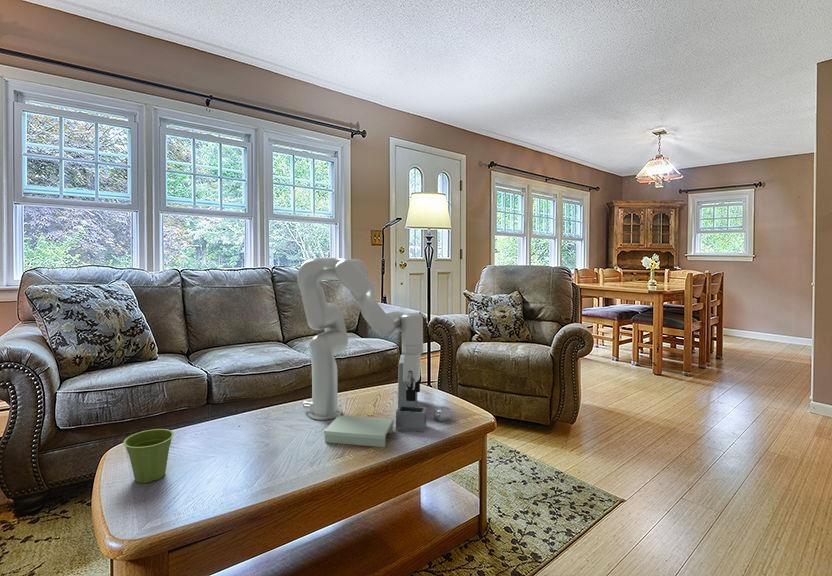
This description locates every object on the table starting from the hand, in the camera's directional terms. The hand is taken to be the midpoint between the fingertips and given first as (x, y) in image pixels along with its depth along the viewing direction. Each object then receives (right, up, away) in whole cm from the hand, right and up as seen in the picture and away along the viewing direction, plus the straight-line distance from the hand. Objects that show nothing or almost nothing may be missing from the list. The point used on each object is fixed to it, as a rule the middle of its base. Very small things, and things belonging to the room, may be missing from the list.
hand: (413, 396), depth 153 cm
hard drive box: (-2, -10, +23) cm, 25 cm away
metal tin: (+11, -11, +9) cm, 18 cm away
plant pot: (-72, -14, -34) cm, 81 cm away
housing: (-1, -12, +1) cm, 12 cm away
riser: (-18, -12, -6) cm, 23 cm away
